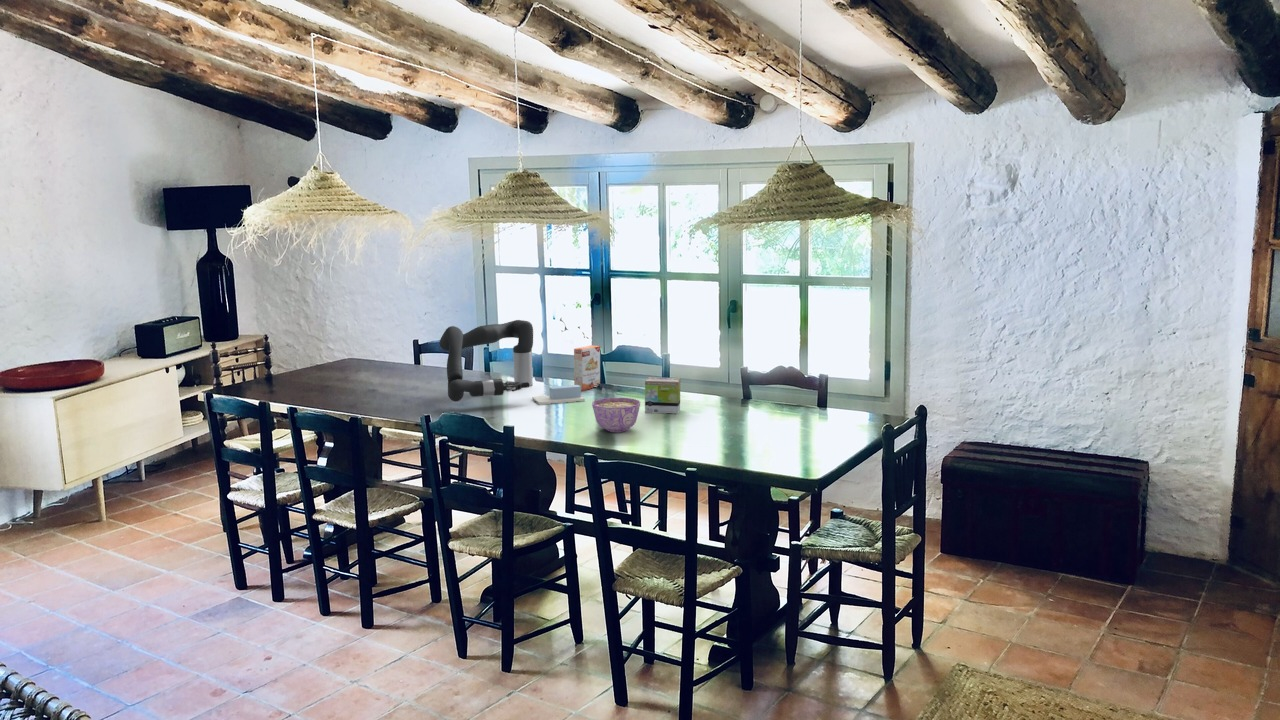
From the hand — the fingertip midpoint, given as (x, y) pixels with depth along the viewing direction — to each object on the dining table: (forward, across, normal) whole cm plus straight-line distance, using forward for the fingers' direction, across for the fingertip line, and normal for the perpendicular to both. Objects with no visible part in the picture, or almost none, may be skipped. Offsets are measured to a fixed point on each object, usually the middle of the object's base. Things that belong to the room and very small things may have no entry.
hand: (528, 384), depth 460 cm
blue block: (+10, 0, -5) cm, 11 cm away
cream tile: (+14, 0, -8) cm, 16 cm away
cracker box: (+35, -22, -9) cm, 42 cm away
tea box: (+51, +41, -9) cm, 66 cm away
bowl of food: (+21, +66, -9) cm, 70 cm away
